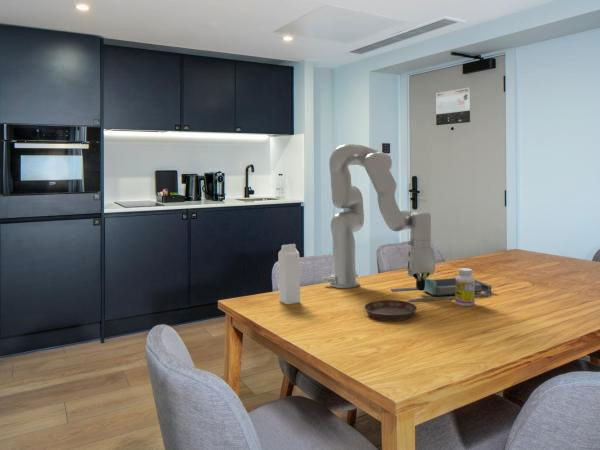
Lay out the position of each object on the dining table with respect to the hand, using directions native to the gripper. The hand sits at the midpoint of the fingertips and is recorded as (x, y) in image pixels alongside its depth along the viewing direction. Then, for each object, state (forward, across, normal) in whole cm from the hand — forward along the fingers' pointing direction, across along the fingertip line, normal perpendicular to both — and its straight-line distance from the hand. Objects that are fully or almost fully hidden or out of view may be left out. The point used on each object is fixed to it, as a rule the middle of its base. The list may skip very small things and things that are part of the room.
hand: (420, 289), depth 198 cm
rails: (+2, +8, 0) cm, 8 cm away
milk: (+2, -52, +4) cm, 52 cm away
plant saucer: (+3, -22, -22) cm, 31 cm away
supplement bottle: (+2, +9, -17) cm, 19 cm away
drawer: (+2, +13, 0) cm, 13 cm away
